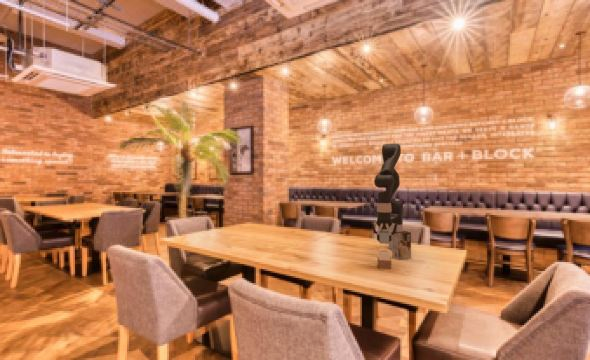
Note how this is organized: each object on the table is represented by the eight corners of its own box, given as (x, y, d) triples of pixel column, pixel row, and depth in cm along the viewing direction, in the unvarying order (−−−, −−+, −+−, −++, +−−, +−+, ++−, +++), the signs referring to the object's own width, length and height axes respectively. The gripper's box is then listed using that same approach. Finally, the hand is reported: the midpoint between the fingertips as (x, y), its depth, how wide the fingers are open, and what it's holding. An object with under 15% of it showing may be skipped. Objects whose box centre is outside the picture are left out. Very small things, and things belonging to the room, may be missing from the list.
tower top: (378, 257, 167) (378, 249, 167) (389, 257, 165) (389, 249, 165) (378, 260, 161) (378, 251, 161) (390, 260, 160) (390, 252, 159)
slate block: (379, 241, 166) (379, 230, 166) (388, 241, 165) (388, 231, 165) (379, 243, 161) (379, 232, 161) (389, 243, 160) (389, 232, 160)
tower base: (377, 264, 167) (377, 256, 167) (390, 265, 166) (390, 257, 166) (377, 268, 161) (377, 260, 161) (391, 269, 159) (391, 261, 159)
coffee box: (404, 255, 185) (404, 230, 185) (411, 258, 179) (411, 232, 178) (391, 256, 182) (392, 231, 182) (398, 259, 176) (398, 233, 176)
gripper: (397, 210, 164) (397, 240, 165) (370, 209, 168) (370, 239, 168) (398, 212, 157) (398, 243, 157) (370, 211, 161) (370, 242, 161)
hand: (384, 241), depth 163 cm, fingers closed on slate block, 5 cm apart
